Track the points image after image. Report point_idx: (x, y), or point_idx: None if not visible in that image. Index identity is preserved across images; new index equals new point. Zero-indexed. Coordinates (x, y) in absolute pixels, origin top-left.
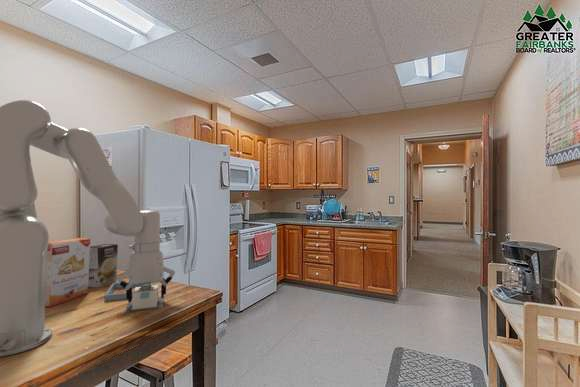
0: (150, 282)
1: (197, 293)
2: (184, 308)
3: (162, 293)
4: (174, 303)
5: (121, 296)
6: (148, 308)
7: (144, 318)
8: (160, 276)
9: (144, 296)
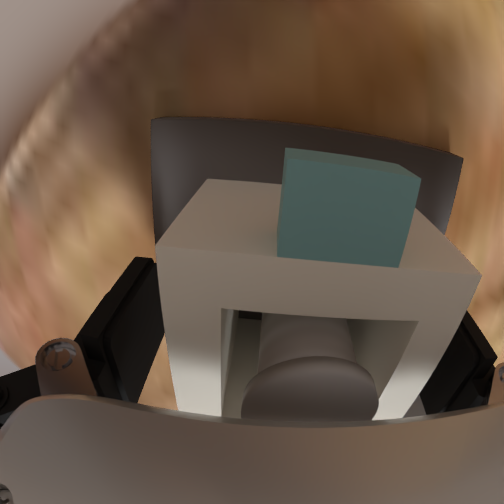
0: (248, 421)
1: (26, 337)
2: (34, 128)
3: (127, 280)
4: (98, 251)
5: (415, 412)
6: (281, 165)
7: (312, 25)
8: (8, 460)
9: (350, 162)
